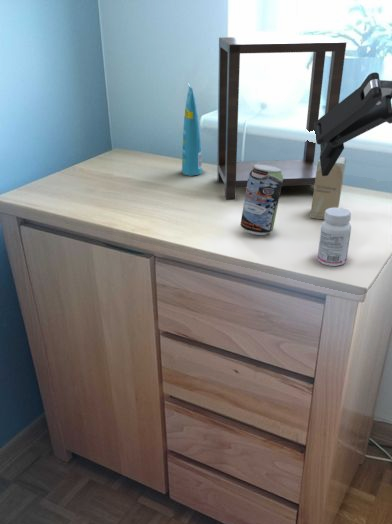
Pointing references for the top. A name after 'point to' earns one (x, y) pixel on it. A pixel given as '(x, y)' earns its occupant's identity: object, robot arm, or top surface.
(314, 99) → the rack
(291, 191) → the top surface
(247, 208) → the beverage can
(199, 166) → the tube
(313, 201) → the box
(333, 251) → the pill bottle
